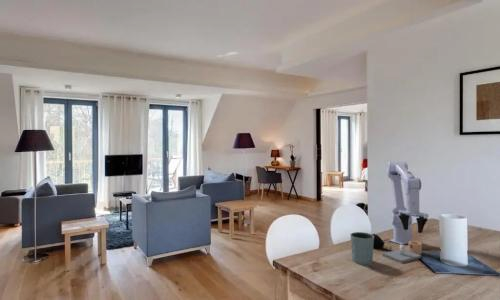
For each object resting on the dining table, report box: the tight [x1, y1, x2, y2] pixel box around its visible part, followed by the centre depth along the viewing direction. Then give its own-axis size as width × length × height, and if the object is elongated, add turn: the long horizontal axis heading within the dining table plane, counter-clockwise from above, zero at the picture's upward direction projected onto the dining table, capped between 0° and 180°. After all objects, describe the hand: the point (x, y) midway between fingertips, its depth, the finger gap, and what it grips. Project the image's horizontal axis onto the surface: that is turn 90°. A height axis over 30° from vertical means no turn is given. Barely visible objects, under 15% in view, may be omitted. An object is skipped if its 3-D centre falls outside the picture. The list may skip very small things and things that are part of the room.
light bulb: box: [371, 233, 393, 252], centre depth 162 cm, size 7×7×12 cm
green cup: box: [349, 231, 374, 266], centre depth 145 cm, size 10×10×12 cm
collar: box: [407, 240, 423, 255], centre depth 156 cm, size 6×5×5 cm
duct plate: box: [382, 244, 422, 264], centre depth 150 cm, size 14×10×5 cm
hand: (413, 231), depth 154 cm, fingers open, 7 cm apart
